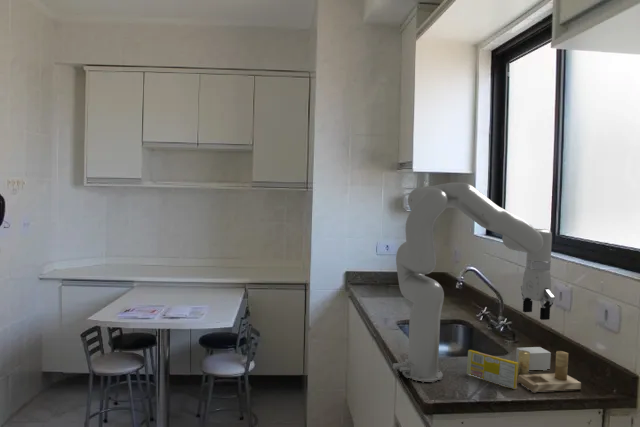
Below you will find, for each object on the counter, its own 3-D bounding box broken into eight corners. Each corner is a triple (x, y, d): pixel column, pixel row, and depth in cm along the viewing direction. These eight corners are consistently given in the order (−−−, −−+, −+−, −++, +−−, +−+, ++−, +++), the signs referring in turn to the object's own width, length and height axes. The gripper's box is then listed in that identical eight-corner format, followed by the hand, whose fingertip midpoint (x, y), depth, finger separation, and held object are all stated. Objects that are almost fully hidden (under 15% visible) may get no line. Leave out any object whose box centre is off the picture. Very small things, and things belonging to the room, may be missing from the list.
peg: (521, 378, 163) (522, 353, 163) (515, 374, 166) (516, 350, 166) (530, 377, 164) (532, 353, 163) (524, 374, 167) (526, 350, 167)
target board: (533, 393, 151) (534, 358, 151) (517, 382, 159) (519, 349, 159) (580, 390, 154) (582, 356, 154) (563, 380, 162) (565, 348, 162)
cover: (525, 371, 170) (526, 353, 169) (515, 364, 175) (516, 347, 175) (549, 370, 171) (550, 352, 171) (539, 363, 177) (540, 346, 177)
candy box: (517, 389, 155) (519, 362, 154) (514, 390, 153) (515, 363, 153) (469, 373, 166) (470, 348, 166) (466, 375, 165) (467, 350, 164)
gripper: (513, 261, 179) (511, 309, 180) (544, 270, 162) (541, 323, 163) (533, 261, 181) (530, 309, 182) (565, 269, 164) (562, 322, 165)
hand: (535, 315), depth 172 cm, fingers open, 9 cm apart
